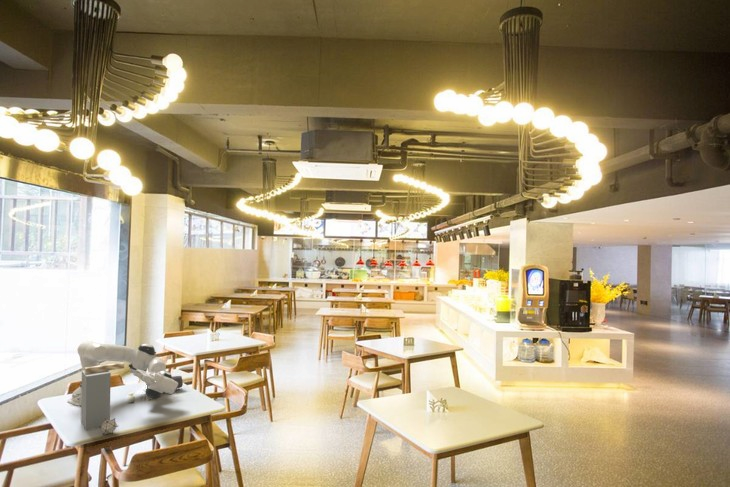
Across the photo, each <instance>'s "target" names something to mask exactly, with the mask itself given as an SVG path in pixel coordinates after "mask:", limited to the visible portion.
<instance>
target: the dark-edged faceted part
mask: <svg viewBox="0 0 730 487" xmlns="http://www.w3.org/2000/svg"><path fill="white" fill-rule="evenodd" d="M99 427H100V429H101V430H102V436H104V435H105V434H106V435H107V434H112V435H114V431H115V430H116V429H117V428H118V427H119V425H117V422H116V418H113V419H111V418H110V420H106V419H105V421H104V423H103V424H102V425H101V426H99Z"/></svg>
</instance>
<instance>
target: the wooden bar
mask: <svg viewBox="0 0 730 487" xmlns="http://www.w3.org/2000/svg"><path fill="white" fill-rule="evenodd" d="M120 369H121V370H122V369H125V362H115V363H109V364H102V365H101V364H100V366H93V367H85V374H88V373H95V372H102V371H109V372H110V371H115V370H116V371H117V370H120Z"/></svg>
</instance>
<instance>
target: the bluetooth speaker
mask: <svg viewBox="0 0 730 487" xmlns="http://www.w3.org/2000/svg"><path fill="white" fill-rule="evenodd" d="M172 379H173V380H174V381H176V382H178V387H177V389H180V388H182V387H183V384H184V382H183V376H182V375H174V376H172ZM162 394H164V392H163V393H162Z"/></svg>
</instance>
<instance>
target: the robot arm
mask: <svg viewBox="0 0 730 487" xmlns="http://www.w3.org/2000/svg"><path fill="white" fill-rule="evenodd" d="M76 350H77V351H76V352H77V354H78V355H79V360H80V365H81V372H82V371H83V370H85V367H93V366H100V365H101V363H100V362H106V361H107V362H116V363H122V362H124V363H129V364H128V368H129V372H130V373H132V374H133V376H135V377H136V378H138V379H139V380H140V381H142V382H144V383H145V384H146V385H147V389H146V388H145V390H144V392H145V395H146V397H147V398H148V399H150V400H158V399H160V398H161V397H162V395H163V394H164V393H163V392H165V393H166V394H169V395H170V394H171V395H173V394H174V393H175V392H176V391H177V389H178V388H177V387H178V382H176V381H174V380H173V379H172V377H173V376H172V373H171V372H169V371H166V368H167V367H166V363H165V361H164V359H162V358H161V357H159V356H156V354H157V352H156V349H155V347H154V346H153V345H152V344H150V343H141V344H140V345H139V346H138V348H137V349H136V348H135V347H132V346H127V345H119V344H111V343H109V344H106V343H99V342H93V341H85V342H81V343H80V344H79V345H78V346H77V349H76ZM78 384H80V385H79V387H78V388H76V389H75V390H74V391H73V392H72V394H71V398H70V399H68V400H67V403H70V404H71V405H75V406H78V407H79V406H80V407H81V393H82V380H80V382H79V383H78ZM146 385H145V386H146Z"/></svg>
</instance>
